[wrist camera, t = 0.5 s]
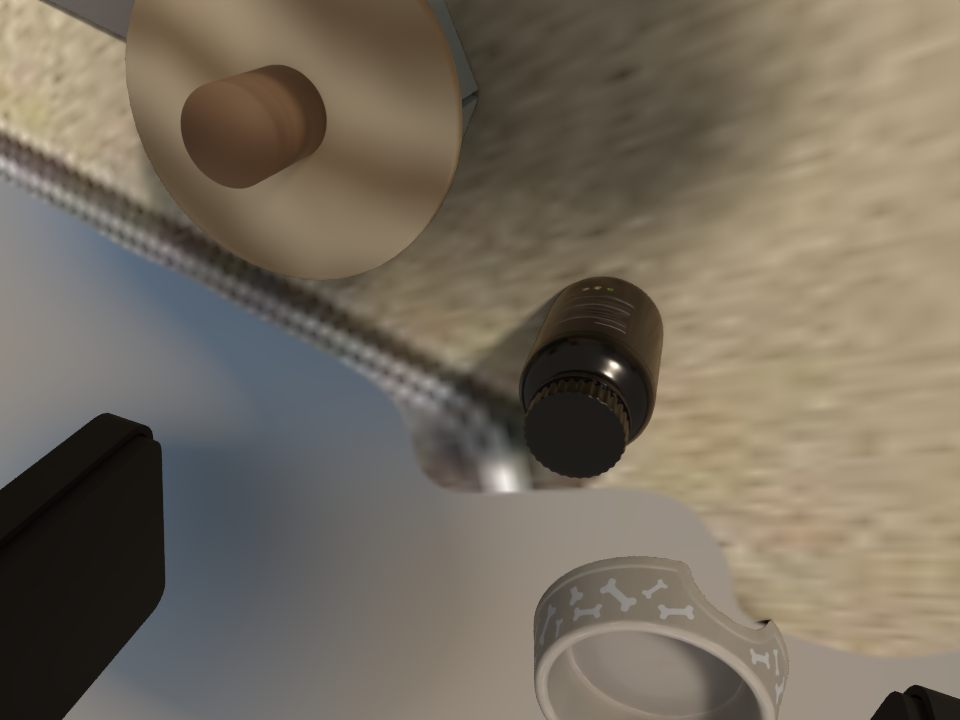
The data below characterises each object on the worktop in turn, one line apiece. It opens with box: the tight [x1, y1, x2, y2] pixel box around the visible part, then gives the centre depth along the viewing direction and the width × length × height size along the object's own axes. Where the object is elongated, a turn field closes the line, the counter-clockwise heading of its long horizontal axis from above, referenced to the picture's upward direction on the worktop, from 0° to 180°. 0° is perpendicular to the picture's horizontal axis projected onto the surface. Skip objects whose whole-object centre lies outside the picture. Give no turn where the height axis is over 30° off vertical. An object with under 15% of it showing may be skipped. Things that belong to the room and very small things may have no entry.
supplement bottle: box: [519, 277, 663, 479], centre depth 40 cm, size 7×7×12 cm
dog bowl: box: [534, 556, 789, 720], centre depth 55 cm, size 17×18×5 cm
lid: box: [125, 0, 463, 280], centre depth 35 cm, size 17×17×6 cm
